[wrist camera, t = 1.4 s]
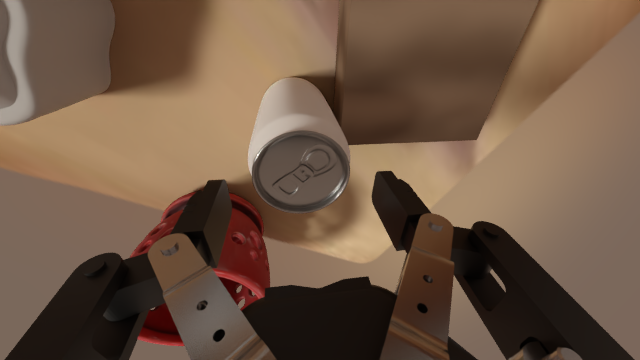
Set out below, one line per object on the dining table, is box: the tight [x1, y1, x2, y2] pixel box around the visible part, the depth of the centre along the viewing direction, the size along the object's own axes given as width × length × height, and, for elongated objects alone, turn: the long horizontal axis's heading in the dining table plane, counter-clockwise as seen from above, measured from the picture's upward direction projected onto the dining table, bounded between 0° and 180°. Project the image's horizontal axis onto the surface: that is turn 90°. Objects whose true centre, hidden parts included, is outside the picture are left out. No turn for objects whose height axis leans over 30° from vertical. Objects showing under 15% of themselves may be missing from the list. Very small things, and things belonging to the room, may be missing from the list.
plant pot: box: [130, 192, 270, 346], centre depth 25 cm, size 13×13×12 cm
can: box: [248, 77, 350, 213], centre depth 18 cm, size 6×6×12 cm
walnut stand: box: [333, 0, 539, 145], centre depth 20 cm, size 14×14×4 cm
